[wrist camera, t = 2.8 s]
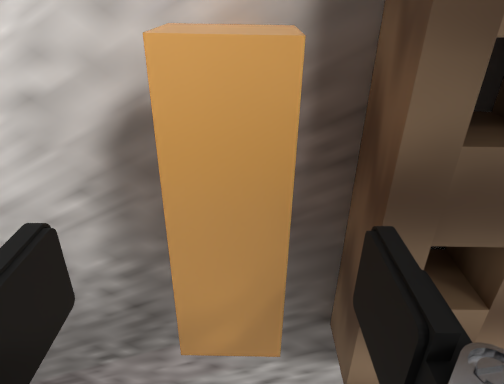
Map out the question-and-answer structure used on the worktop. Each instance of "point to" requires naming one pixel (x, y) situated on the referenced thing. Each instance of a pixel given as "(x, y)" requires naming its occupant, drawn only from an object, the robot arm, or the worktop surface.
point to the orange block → (227, 176)
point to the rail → (431, 168)
